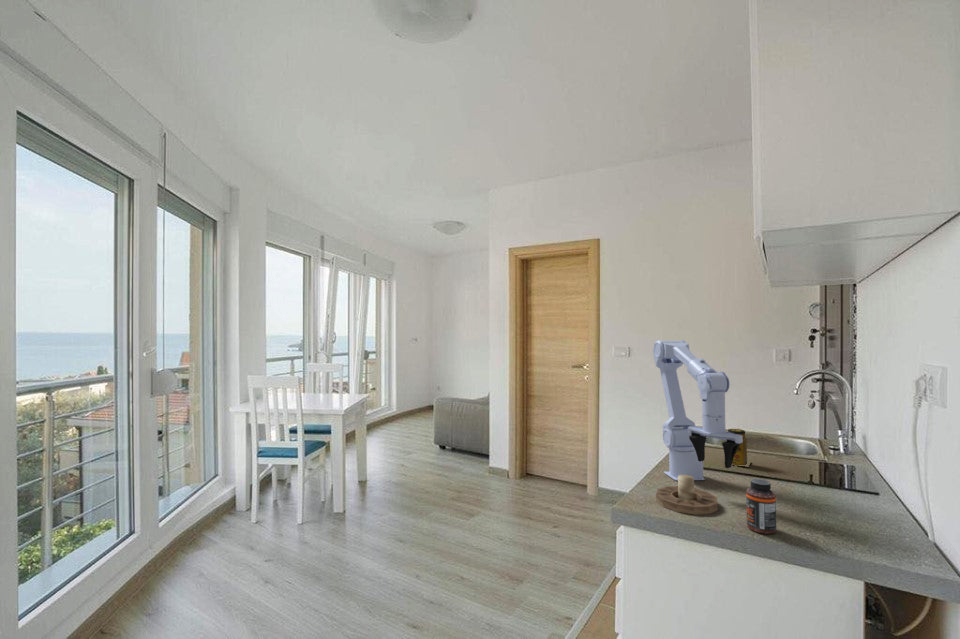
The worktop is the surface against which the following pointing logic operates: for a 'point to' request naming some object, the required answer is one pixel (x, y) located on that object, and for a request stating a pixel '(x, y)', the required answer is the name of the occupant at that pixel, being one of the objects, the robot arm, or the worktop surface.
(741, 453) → the condiment
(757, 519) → the supplement bottle
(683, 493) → the beech peg
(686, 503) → the walnut ring
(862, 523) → the worktop surface
